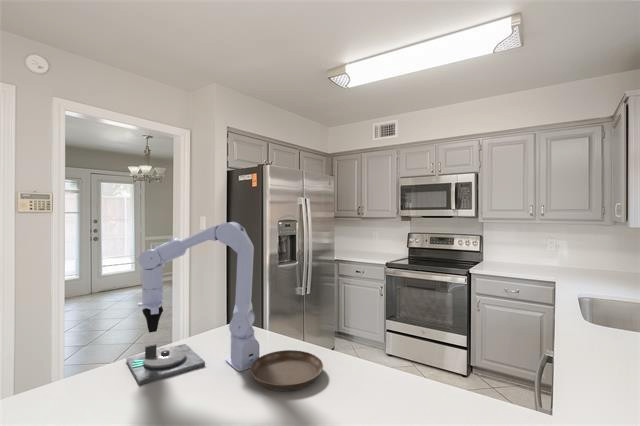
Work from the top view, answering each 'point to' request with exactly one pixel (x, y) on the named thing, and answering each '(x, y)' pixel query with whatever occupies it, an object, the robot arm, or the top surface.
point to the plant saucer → (286, 369)
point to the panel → (152, 374)
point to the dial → (163, 356)
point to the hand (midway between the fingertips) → (152, 331)
